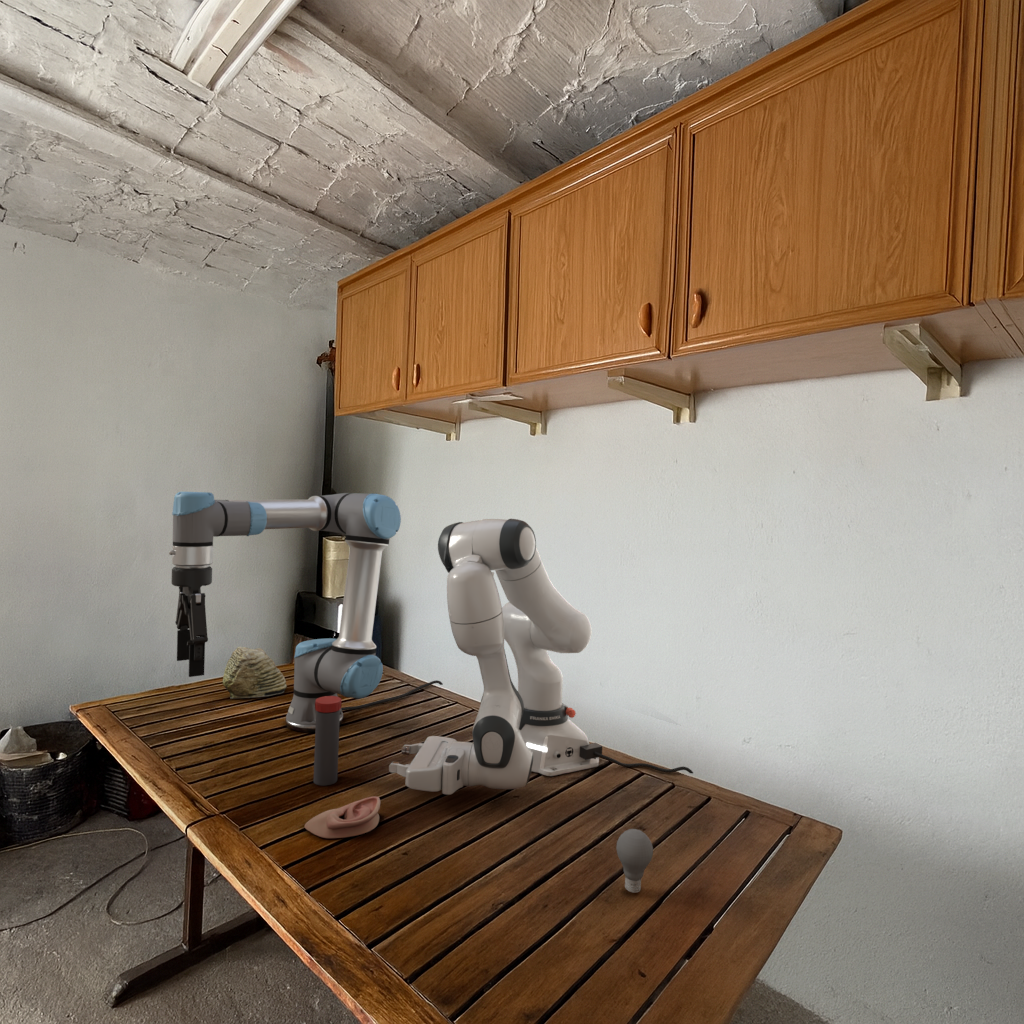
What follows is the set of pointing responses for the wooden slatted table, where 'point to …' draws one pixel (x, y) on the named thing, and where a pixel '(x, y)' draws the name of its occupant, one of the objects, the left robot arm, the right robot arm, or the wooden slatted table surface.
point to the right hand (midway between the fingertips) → (396, 757)
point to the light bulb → (634, 857)
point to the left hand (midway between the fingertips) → (189, 667)
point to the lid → (328, 704)
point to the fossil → (252, 674)
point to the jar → (326, 748)
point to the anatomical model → (346, 819)
